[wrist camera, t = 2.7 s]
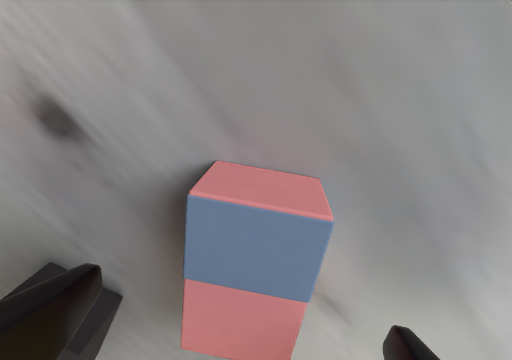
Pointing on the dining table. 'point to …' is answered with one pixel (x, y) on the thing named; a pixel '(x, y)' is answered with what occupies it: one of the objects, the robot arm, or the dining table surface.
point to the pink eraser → (251, 260)
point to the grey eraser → (94, 324)
